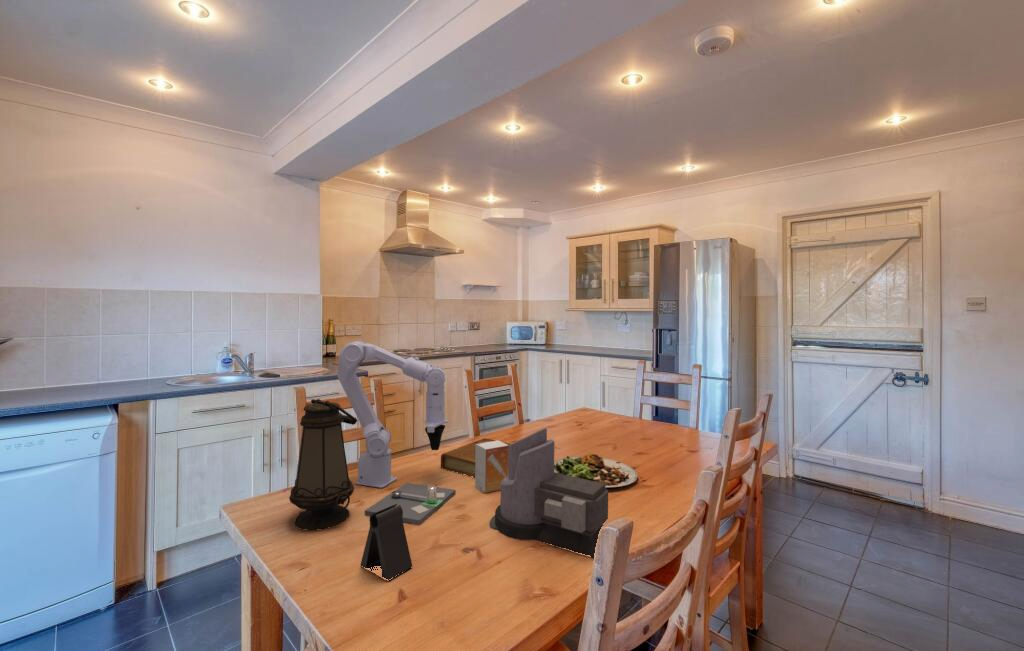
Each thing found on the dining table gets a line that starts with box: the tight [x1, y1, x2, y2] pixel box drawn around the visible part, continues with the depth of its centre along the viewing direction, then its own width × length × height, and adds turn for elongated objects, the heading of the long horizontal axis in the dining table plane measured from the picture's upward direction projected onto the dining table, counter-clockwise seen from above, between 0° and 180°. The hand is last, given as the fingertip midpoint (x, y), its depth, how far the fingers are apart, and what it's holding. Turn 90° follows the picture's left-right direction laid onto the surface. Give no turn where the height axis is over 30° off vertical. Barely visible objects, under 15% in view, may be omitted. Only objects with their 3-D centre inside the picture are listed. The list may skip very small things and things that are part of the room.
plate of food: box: [554, 452, 639, 488], centre depth 142 cm, size 28×28×6 cm
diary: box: [440, 437, 511, 478], centre depth 152 cm, size 23×19×6 cm
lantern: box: [289, 398, 358, 531], centre depth 111 cm, size 18×15×30 cm
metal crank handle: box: [391, 484, 438, 503], centre depth 120 cm, size 14×3×4 cm, turn 70°
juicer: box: [488, 427, 609, 560], centre depth 106 cm, size 30×16×24 cm, turn 57°
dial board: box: [364, 482, 456, 526], centre depth 120 cm, size 16×20×1 cm
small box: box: [474, 440, 509, 494], centre depth 132 cm, size 8×6×13 cm
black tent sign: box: [360, 504, 413, 580], centre depth 90 cm, size 9×6×12 cm, turn 53°
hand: (435, 449), depth 138 cm, fingers closed
